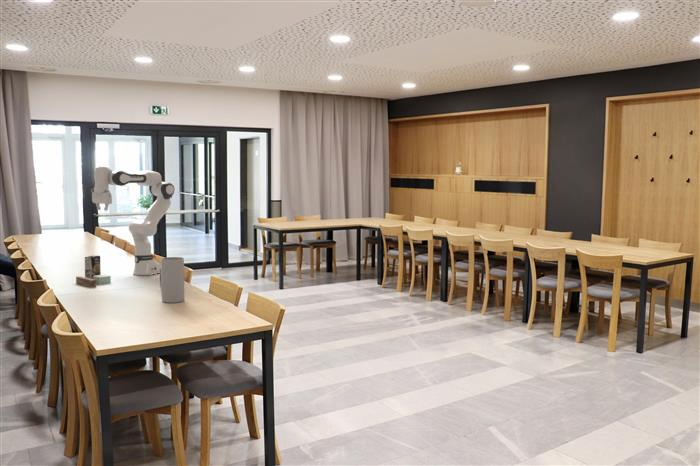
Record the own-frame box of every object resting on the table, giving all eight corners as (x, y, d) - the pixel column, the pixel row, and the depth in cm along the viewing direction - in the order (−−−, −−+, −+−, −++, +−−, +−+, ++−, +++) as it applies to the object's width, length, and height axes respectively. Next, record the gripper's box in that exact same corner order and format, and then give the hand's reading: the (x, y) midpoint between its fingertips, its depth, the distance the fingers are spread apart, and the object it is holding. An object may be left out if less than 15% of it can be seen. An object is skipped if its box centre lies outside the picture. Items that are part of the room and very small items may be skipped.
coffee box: (93, 280, 413) (92, 257, 411) (84, 280, 414) (84, 256, 413) (101, 278, 422) (100, 255, 420) (92, 278, 423) (92, 255, 422)
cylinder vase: (172, 304, 343) (171, 260, 341) (157, 301, 350) (156, 258, 348) (188, 300, 354) (188, 258, 352) (174, 297, 361) (173, 256, 358)
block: (104, 281, 411) (104, 274, 410) (110, 283, 406) (110, 275, 405) (93, 283, 405) (92, 275, 404) (99, 284, 400) (99, 277, 399)
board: (80, 282, 404) (80, 276, 404) (96, 286, 392) (95, 279, 391) (76, 283, 402) (76, 276, 401) (91, 287, 389) (91, 280, 389)
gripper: (114, 190, 409) (114, 210, 410) (98, 189, 422) (99, 209, 423) (105, 190, 404) (106, 211, 406) (89, 189, 417) (90, 209, 418)
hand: (102, 210), depth 414 cm, fingers open, 8 cm apart
